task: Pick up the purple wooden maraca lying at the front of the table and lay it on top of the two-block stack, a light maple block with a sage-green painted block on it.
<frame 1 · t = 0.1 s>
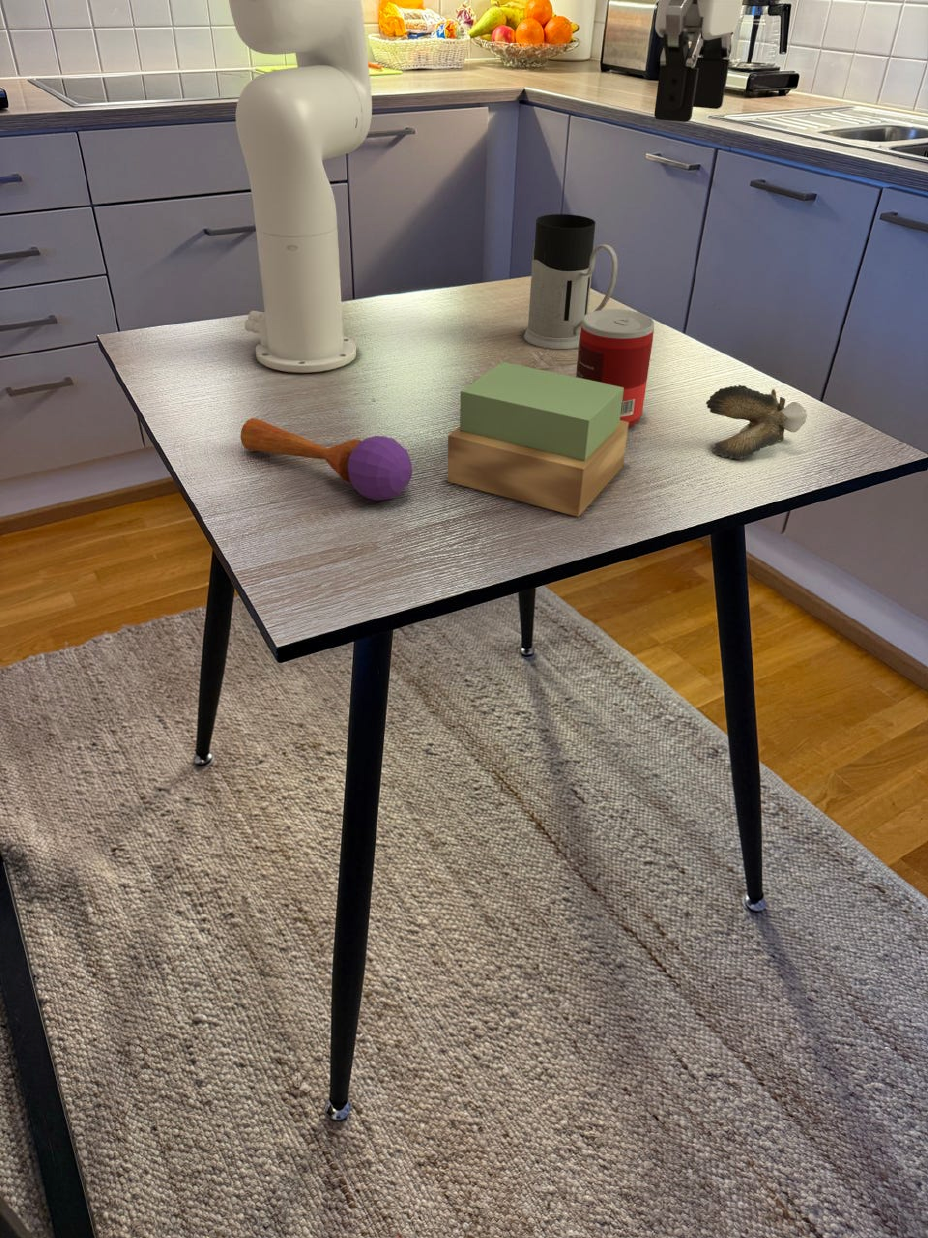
hand: (689, 113, 85), 31 cm above the table, tool pointing down, fingers open, 9 cm apart
sage block: (540, 428, 92), point 5 cm above the table, touching maple block
purple wooden maraca: (325, 477, 93), on the table
eagle figurine: (748, 446, 101), on the table
maple block: (536, 474, 94), on the table, touching sage block
glass holder: (569, 345, 126), on the table
canned food: (606, 418, 106), on the table
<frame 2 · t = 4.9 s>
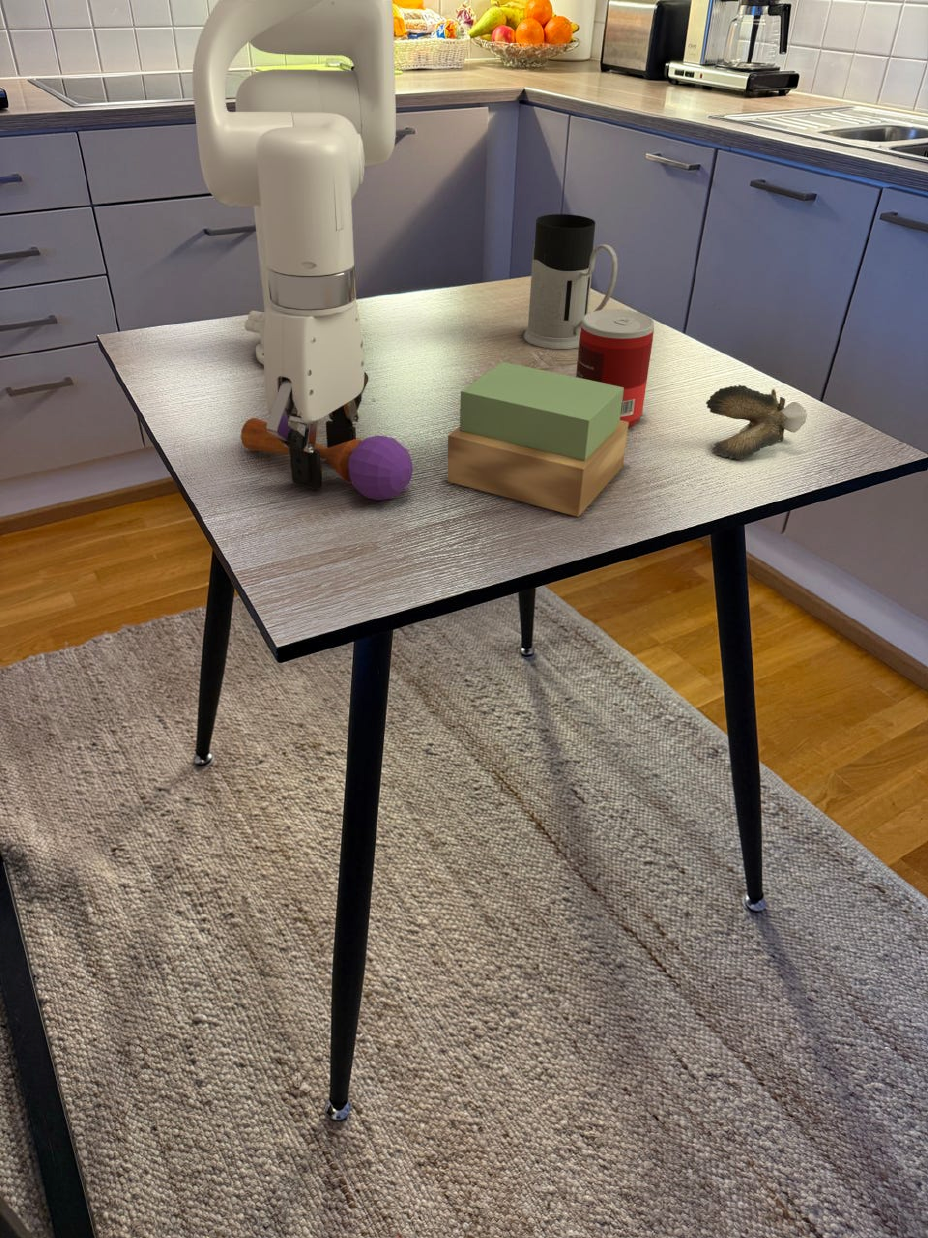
hand: (325, 471, 93), 1 cm above the table, tool pointing down, fingers closed on purple wooden maraca, 5 cm apart
purple wooden maraca: (326, 477, 93), on the table, touching gripper
everything else where it was.
when the fingers open (10 cm above the table, at t = 12.7 s): purple wooden maraca stays where it is, resting on sage block.
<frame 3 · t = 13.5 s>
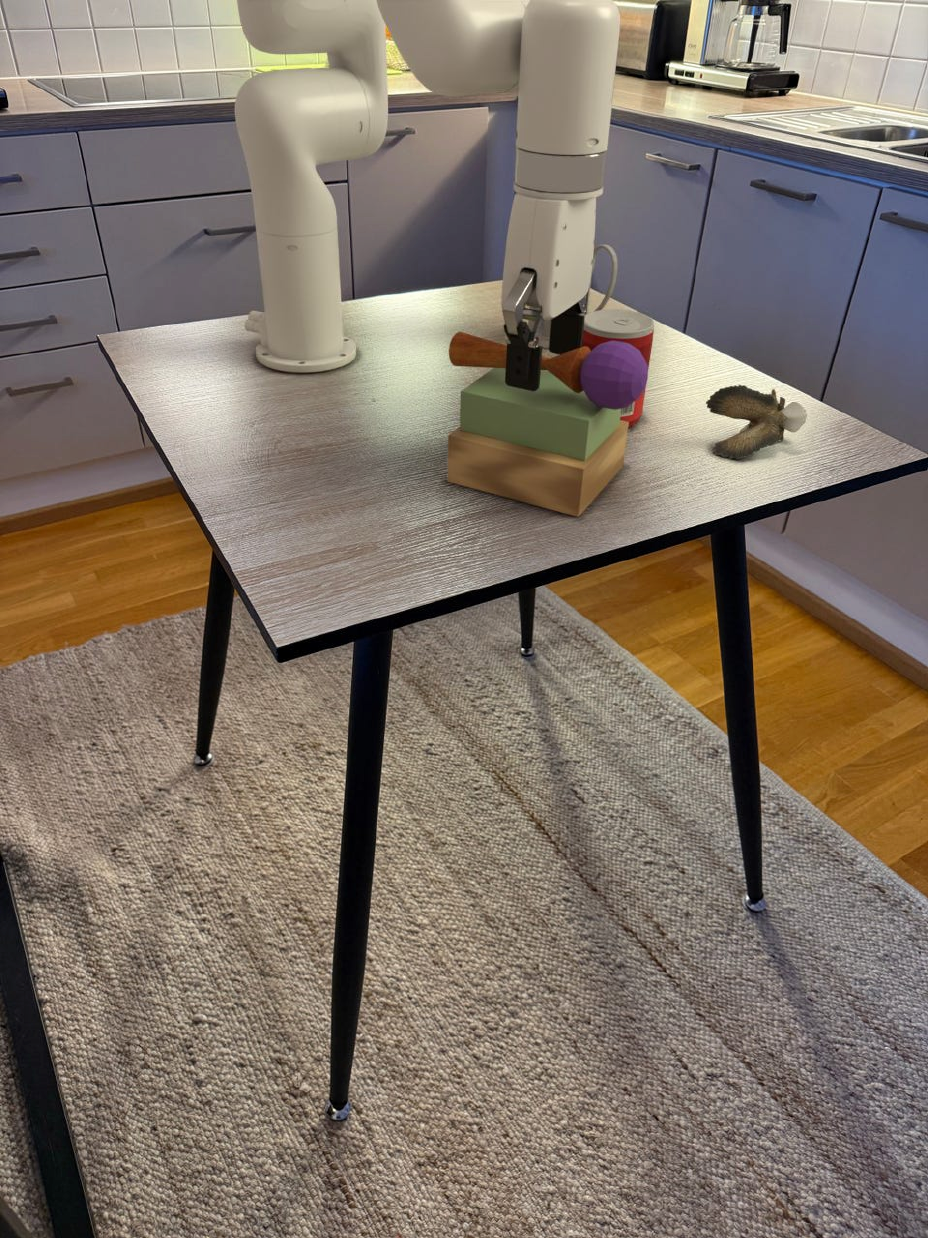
hand: (544, 370, 88), 11 cm above the table, tool pointing down, fingers open, 9 cm apart
sage block: (540, 428, 92), point 5 cm above the table, touching purple wooden maraca, maple block
purple wooden maraca: (543, 390, 89), point 9 cm above the table, touching sage block
everything else where it was.
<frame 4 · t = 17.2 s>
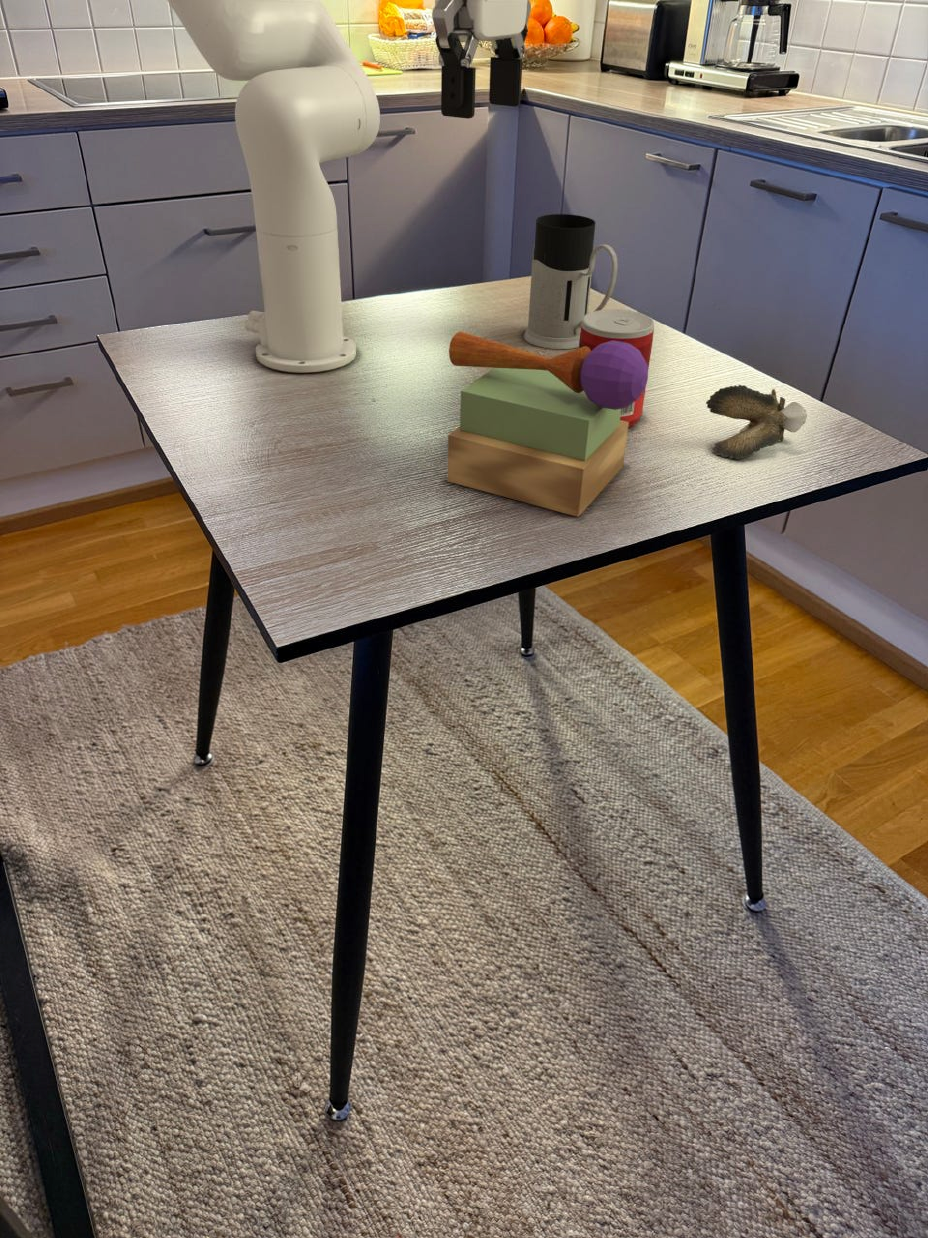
hand: (482, 110, 89), 30 cm above the table, tool pointing down, fingers open, 9 cm apart
nothing on the table moved.
at the end: purple wooden maraca inside the target area on the sage block (0.1 cm from its centre), point 3.8 cm above the sage block's base; purple wooden maraca tilted 1°; sage block 0.0 cm off-centre on the maple block, point 5.0 cm above the maple block's base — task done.
